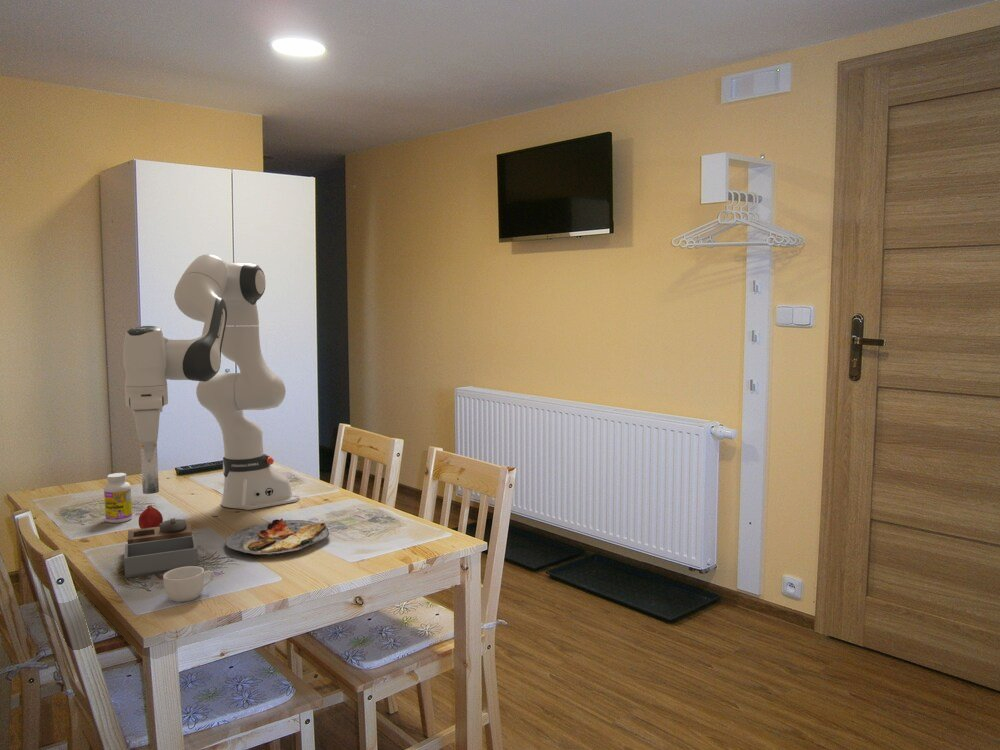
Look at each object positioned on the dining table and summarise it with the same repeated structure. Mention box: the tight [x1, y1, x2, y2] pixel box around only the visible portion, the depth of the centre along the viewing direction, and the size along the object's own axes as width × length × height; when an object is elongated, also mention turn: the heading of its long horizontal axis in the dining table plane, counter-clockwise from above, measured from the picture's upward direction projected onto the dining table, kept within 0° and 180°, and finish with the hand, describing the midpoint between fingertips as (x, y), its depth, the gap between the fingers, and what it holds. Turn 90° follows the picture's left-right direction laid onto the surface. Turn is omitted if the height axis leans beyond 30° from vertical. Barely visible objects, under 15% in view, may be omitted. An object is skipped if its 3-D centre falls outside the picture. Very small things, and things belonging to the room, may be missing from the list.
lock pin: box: [139, 442, 160, 495], centre depth 173 cm, size 3×3×12 cm
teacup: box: [162, 565, 215, 603], centre depth 156 cm, size 10×8×5 cm
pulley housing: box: [127, 518, 193, 544], centre depth 184 cm, size 14×8×8 cm, turn 115°
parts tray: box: [123, 535, 199, 579], centre depth 174 cm, size 15×10×4 cm
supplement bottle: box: [103, 472, 133, 524], centre depth 209 cm, size 7×7×13 cm
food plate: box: [224, 518, 330, 556], centre depth 190 cm, size 25×23×4 cm
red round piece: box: [138, 504, 164, 529], centre depth 196 cm, size 6×6×8 cm
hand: (149, 457), depth 173 cm, fingers closed on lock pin, 3 cm apart
